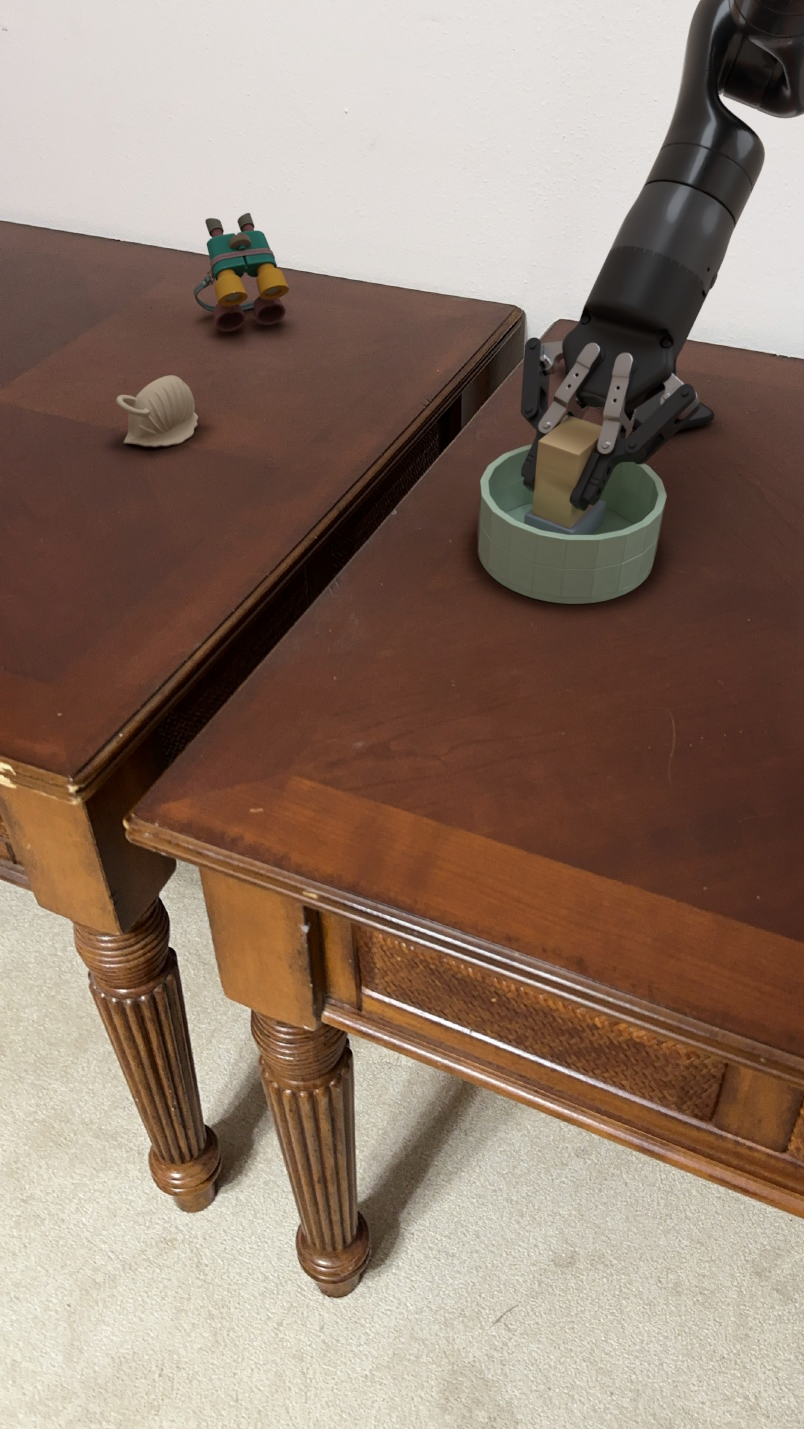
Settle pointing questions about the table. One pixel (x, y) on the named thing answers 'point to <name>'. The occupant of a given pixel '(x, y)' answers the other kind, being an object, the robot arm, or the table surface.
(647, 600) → the table surface
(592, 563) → the bowl
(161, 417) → the decorative ornament
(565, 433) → the eraser
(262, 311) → the binoculars
